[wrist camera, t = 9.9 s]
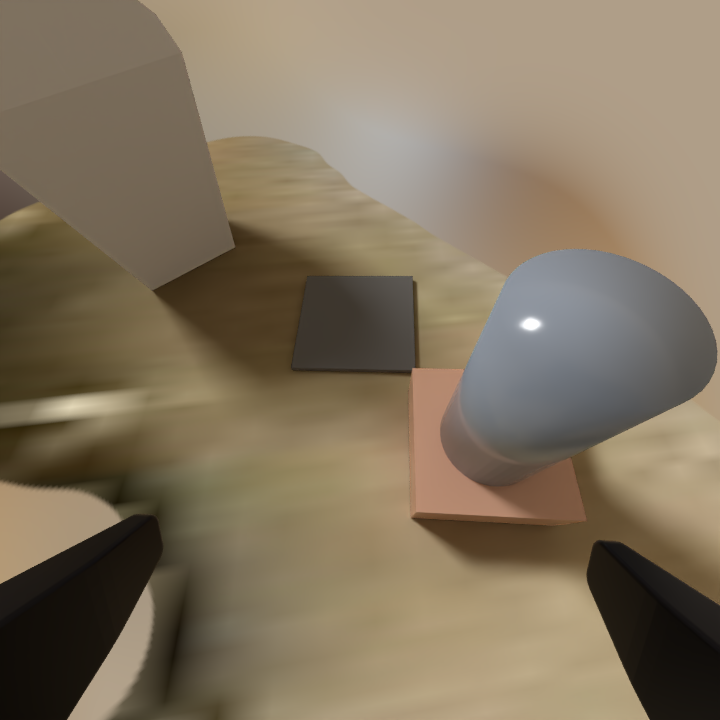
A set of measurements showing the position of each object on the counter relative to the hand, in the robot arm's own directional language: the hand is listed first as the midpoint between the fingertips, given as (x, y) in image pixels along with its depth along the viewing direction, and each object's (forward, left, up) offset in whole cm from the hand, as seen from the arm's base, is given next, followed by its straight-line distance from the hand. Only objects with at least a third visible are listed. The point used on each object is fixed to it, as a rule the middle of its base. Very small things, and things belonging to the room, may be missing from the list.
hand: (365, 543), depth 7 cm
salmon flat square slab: (+6, -6, -14) cm, 16 cm away
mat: (+16, +2, -14) cm, 21 cm away
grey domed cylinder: (+5, -6, -10) cm, 13 cm away
